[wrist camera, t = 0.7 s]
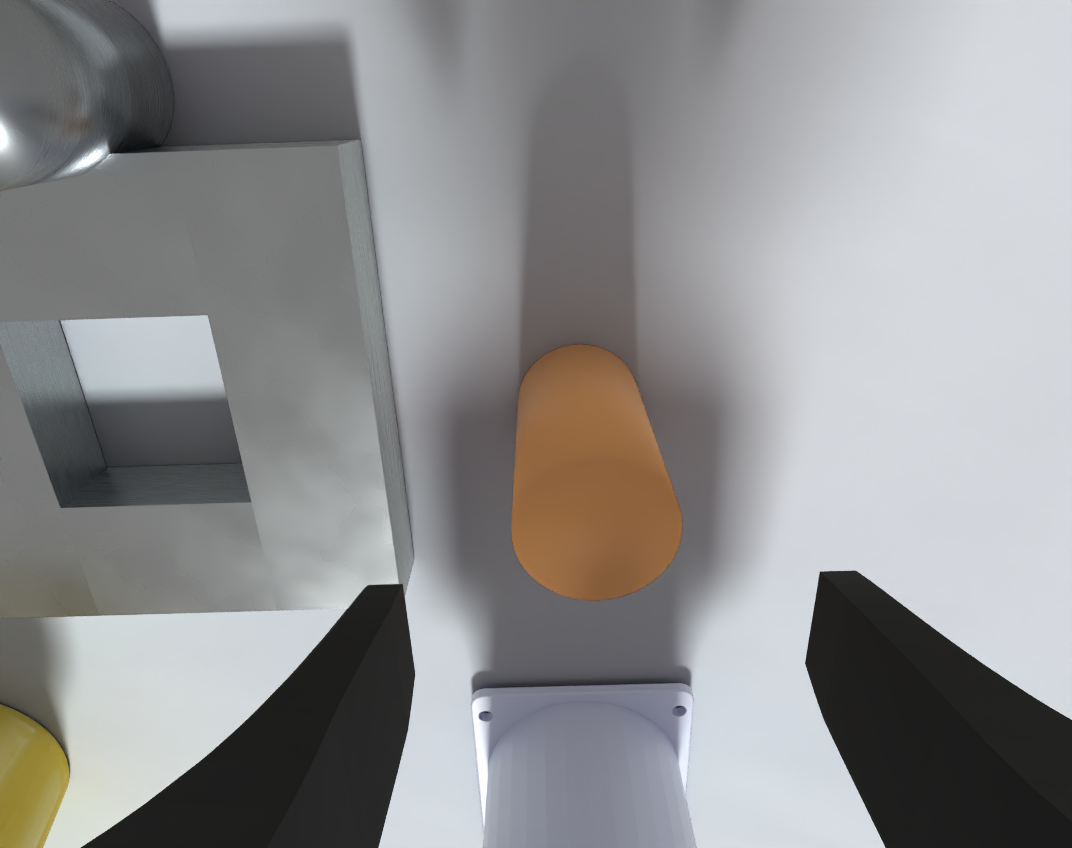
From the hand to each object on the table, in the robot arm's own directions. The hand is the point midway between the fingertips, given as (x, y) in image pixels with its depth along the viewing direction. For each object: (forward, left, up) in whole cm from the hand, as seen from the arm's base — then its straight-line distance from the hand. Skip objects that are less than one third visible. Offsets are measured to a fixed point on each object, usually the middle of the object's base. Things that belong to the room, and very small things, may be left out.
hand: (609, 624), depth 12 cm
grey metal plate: (+3, +16, -10) cm, 19 cm away
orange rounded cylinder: (0, 0, -10) cm, 10 cm away
